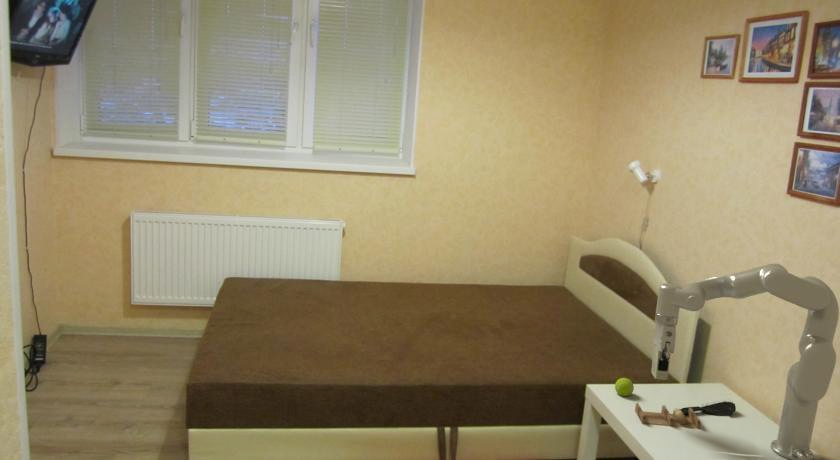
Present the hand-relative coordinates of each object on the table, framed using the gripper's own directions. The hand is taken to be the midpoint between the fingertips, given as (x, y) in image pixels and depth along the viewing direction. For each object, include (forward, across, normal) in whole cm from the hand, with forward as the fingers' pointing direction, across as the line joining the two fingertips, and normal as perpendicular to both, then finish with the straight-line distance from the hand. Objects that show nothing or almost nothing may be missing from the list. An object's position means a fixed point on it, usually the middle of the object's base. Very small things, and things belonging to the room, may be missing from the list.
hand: (659, 366), depth 233 cm
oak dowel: (+20, 0, -10) cm, 22 cm away
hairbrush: (+21, +9, -22) cm, 32 cm away
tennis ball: (+21, +19, +6) cm, 29 cm away
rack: (+21, 0, -5) cm, 21 cm away
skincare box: (+4, 0, 0) cm, 4 cm away
